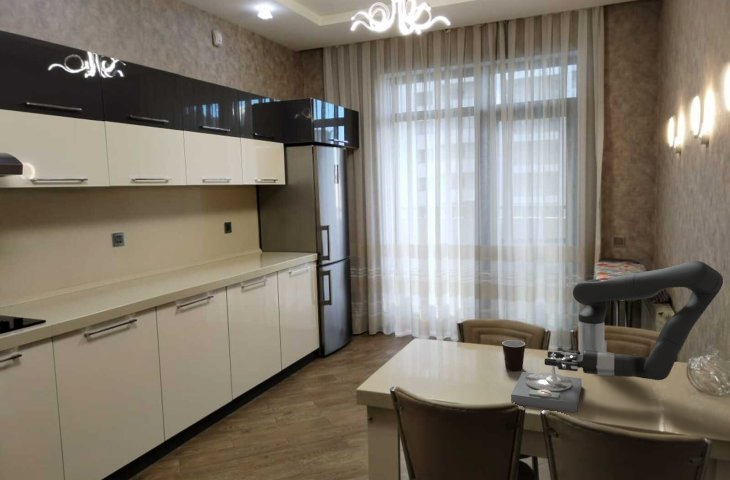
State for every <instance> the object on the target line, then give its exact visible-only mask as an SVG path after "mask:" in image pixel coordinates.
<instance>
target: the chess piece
mask: <svg viewBox="0 0 730 480" xmlns="http://www.w3.org/2000/svg"><path fill="white" fill-rule="evenodd" d="M551 356H552V357H551V358H550V359H556V358H554V356H556V354H554V353H552V355H551ZM556 360H557V359H556ZM556 368H557V366H551V370H550V373H551V376H550V377H547V378H546V382H548V383H551V384H559V383H561V379H560V378H558V377H557V376H556V374H557V373H556Z"/></svg>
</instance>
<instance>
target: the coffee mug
mask: <svg viewBox="0 0 730 480" xmlns="http://www.w3.org/2000/svg"><path fill="white" fill-rule="evenodd" d="M501 343H502V344H501V345H502V351H503V352H502V353H503V358H504V366H505V367H504V368H505V370H507V371H509V372H521V371H522V370H523V368H524V361H525V360H524V359H525V349H526V343H525V342H524V341H521V340H517V339H516V340H515V339H513V340H512V339H510V340H509V339H507V340H505V341H502V342H501Z"/></svg>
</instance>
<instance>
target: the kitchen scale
mask: <svg viewBox="0 0 730 480" xmlns="http://www.w3.org/2000/svg"><path fill="white" fill-rule="evenodd" d="M550 376H551V372H527V371H522V372H521V374H520V376H519V378H518V380H517V382H516V383H515V386H514V387H513V390H512V392H511V393H510V403H511V402H515V403H518V404H517V405H521V406H522V405H523V406H529V407H536V408H542V407H543V408H544V409H551V410H557V411H564V412H573V413H577V412H578V407H579V401H580V398H581V397H580V396H581V392H582V385H583V384H582V382H583V381H582V377H581V378H580V377H573V376H564V375H563V374H558V373H556V376H557V377H558V378H560V379H561V383H559V384H551V383H548V382H546V378H547V377H550Z"/></svg>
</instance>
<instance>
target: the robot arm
mask: <svg viewBox="0 0 730 480" xmlns="http://www.w3.org/2000/svg"><path fill="white" fill-rule="evenodd" d="M723 283H724V277H723V276H722V274H721V273H720V272H719V271H718V270H716V269H715V268H713V267H711V266H710V265H709V264H707V263H705V262H704V261H700V260H699V261H698V260H694V261H687V262H684V263H680V264H676V265H673V266H669V267H664V268H659V269H652V270H648V271H647V270H646V271H639V272H633V273H627V274H623V275H619V276H615V277H612V278H609V279H605V280H600V279H597V278H594V279H588V280H583V281H581V282H578V283H577V284H575V286H574V288H573V290H572V295H573V298H574V299H575V301H576V302H577V303H579V304H580V305H583V306H584V307H583V309H581V311H580V312H579V313H578V350H567V349H562V350H560V351H552V350H548V351H547V357H545V358H544V365H545V366H549V367H552V366H556V368H557V369H558V370H561V371H570V372H578V371H579V370H578V369H582V372H583V373H584V374H586V375H587V374H588V375H595V376H596V375H598V376H607V377H608V376H609V377H610V376H612V377H613V376H615V377H626V378H628V377H629V378H633V377H635V378H640V379H645V380H652V381H653V380H654V381H663V380H665V379H667V378H668V376H669V375H670V374H671V371H672V370H673V367H674V365H675V362H676V360H677V358H678V357H677V356H678V355H679V354H680V352H681V350H682V348H683V346H684V344H685V342H686V341H687V339H688V337H689V334H690V333H691V331H692V329H693V328H694V326H695V325H696V323H697V321H698V320H699V319H700V318H701V316H702V315H703V314H704V312H705V311H706V309H707V308H708V307H709V305H710V304H711V303H712V302H713V300H714V299H715V298H716V296H717V295H718V293H719V292H720V290H721V289H722V287H723V285H724V284H723ZM670 288H685V289H688V290H689V291H691V294H690V297H689V298H688V301H687V302H686V304H685V305H683V307H682V308H681V309H679V310H678V311H677V312H676V313H675V314H673V315H672V316H670V317H669V318H668V319H667V320H666V321H665V323H664V325H663V326H662V329H661V330H660V332H659V334H658V336H657V338H656V341H655V345H654V347H653V349H652V350H651V352H650V354H649V355H648V356H633V355H631V354H622V353H613V352H609V351H607V349H608V348H607V347H608V346H607V342H608V341H607V340H606V339H605V319H606V316H607V311H608V301H631V300H633V301H635V300H644V299H650V298H654V297H655V296H657V295H658V294H660V293H661V292H662V291H663V290H667V289H670ZM552 353H554V354H556V356H554V358H556V359H550V358H551V357H552V356H551V355H552Z"/></svg>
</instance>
